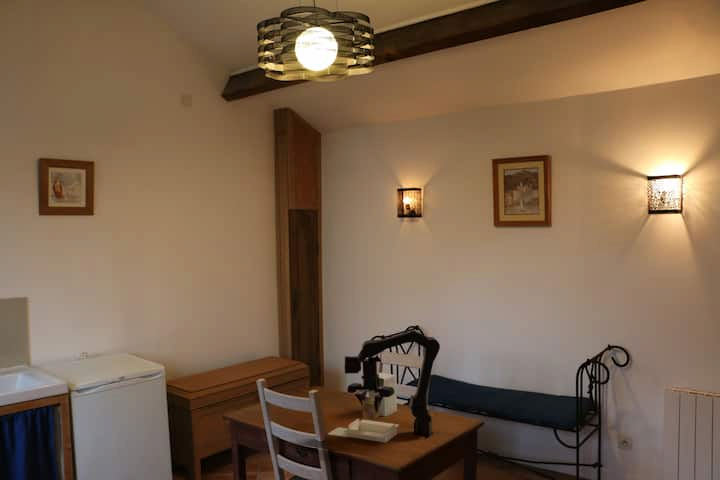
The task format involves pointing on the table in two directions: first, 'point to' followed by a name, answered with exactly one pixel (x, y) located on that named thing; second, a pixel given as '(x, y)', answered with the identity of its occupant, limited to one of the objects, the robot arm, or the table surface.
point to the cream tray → (372, 430)
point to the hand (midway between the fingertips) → (371, 411)
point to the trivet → (339, 432)
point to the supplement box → (387, 403)
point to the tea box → (369, 409)
